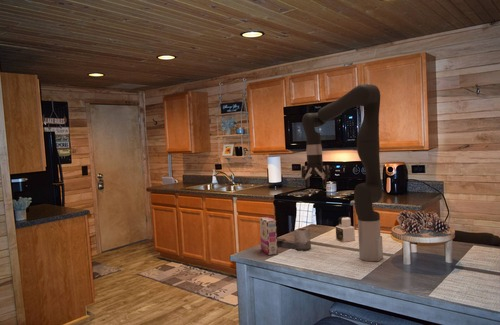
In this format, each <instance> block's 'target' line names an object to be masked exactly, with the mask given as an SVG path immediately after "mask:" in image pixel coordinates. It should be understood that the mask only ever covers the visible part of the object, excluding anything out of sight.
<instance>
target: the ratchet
mask: <svg viewBox="0 0 500 325" xmlns="http://www.w3.org/2000/svg"><path fill="white" fill-rule="evenodd" d="M277 248H285V249H286V248H287V249H292V250H293V249H294V250H295V251H297V252H298V251H299V252H307V251H310V250H312V241H311V240H310V241H309V242H307V243H305V244H303V243H295V240H287V239H286V238H278V237H277Z"/></svg>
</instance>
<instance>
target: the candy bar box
mask: <svg viewBox="0 0 500 325" xmlns="http://www.w3.org/2000/svg"><path fill="white" fill-rule="evenodd" d="M277 229H278V228H277V220H275V219H273V218H271V217H269V216H265V217H259V231H260V232H259V234H260V250H261V251H262V252H264V253H265V254H266V255H268V256H274V255H278V254H279V252H278V251H279V249H278V247H277V238H278V231H277Z"/></svg>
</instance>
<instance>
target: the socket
mask: <svg viewBox="0 0 500 325" xmlns="http://www.w3.org/2000/svg"><path fill="white" fill-rule="evenodd" d="M293 231H294V234H293V236H294V241H295V243H303V244H305V243H307V242H309V241H311V233H310V231H311V230H310V228H305V227H299V228H296V229H294V230H293Z"/></svg>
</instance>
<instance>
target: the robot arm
mask: <svg viewBox="0 0 500 325" xmlns="http://www.w3.org/2000/svg"><path fill="white" fill-rule="evenodd" d="M380 106H381V91H380V89H379V87H378V86H377V85H375V84H367V83H362V84H361V83H360V84H358V85H356V86H355V87H354V88H352V89H351V90H350V91H348V92H347V93H346V94H344V95H342V96H341V97H339V98H338V99H336V100H334V101H333V102H330V103H328V104H326V105H324V106H323V107H321V108H319V109H318V111H317V112H307V113H305V114H304V115H303V116H302V119H301V124H302V128H303V131H304V134H305V137H306V139H305V140H306V149H305V150H306V151H305V153H306V164H307V165H302V166H301V179H304V180H305V186H306V187H307V188H309V187H310V186H311V183H310V182H311V181H310V177H311V176H312V175H319V176H320V177H321V178H322V180H321V182H322V183H321V184H322V187H323V188H325V187H326V186H327V182H328V181H327V179H328V178H330V177H331V171H330V165H328V164H327V165H324V164H323V163H324V162H323V161H324V160H323V147H322V136H321V133H320V132H318V131H316V128H318V127H319V128H320V127H322V126H324V125H325V124H326V123H327V122H330V121H332V120H334V119H336V118H337V117H339V116H341V115H342V114H343V113H344V112H346V111H347V110H349V109H352V108H355V107H356V108H357V107H362V108H363V118H362V121H361V125H360V127H359V129H358V133H357V136H356V151H357V155H358V158H359V160H360V162H361V163H362V166H363V168H364V171H365V182H362V183H359V184H357V185H356V186H355V188H354V190H353V191H354V192H353V199H354V210H355V213H356V214H355V215H356V216H357V230H358V231H357V232H358V234H357V235H358V253H359V254H358V255H359V259H360V260H361V261H364V262H365V261H366V262H380V261H381V260H382V259H383V258H384V251H383V248H384V247H383V236H382V235H381V216H380V215H381V214H380V213H379V212H378V211H375V210H374V208H373V204H375V203H378V202H379V201H380V200H382V197H383V184H382V176H381V161H380V129H379V128H380V124H379V123H380ZM307 170H308V171H307ZM323 170H324V171H323Z"/></svg>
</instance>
